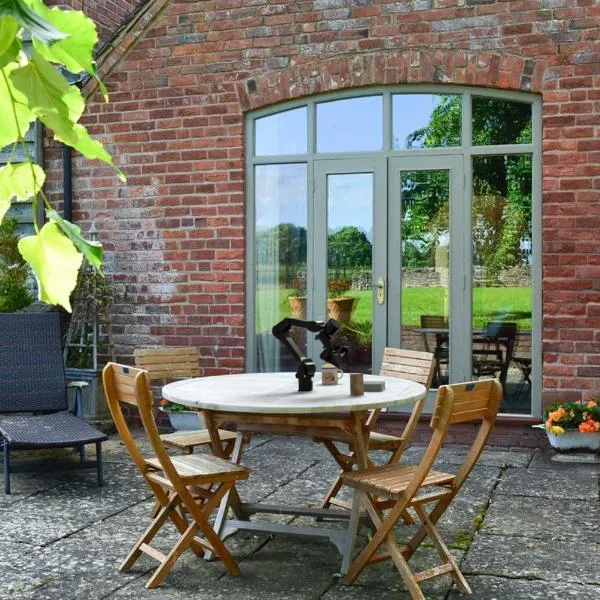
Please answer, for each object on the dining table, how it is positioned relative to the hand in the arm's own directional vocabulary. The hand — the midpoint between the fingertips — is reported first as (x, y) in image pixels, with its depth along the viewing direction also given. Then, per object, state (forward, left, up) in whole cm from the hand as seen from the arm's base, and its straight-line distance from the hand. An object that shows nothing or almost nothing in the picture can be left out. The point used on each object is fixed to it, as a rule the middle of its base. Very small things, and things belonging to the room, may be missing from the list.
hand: (344, 366), depth 404 cm
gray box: (+10, +14, -13) cm, 22 cm away
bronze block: (+6, -5, -13) cm, 15 cm away
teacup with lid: (-15, +42, -13) cm, 46 cm away
